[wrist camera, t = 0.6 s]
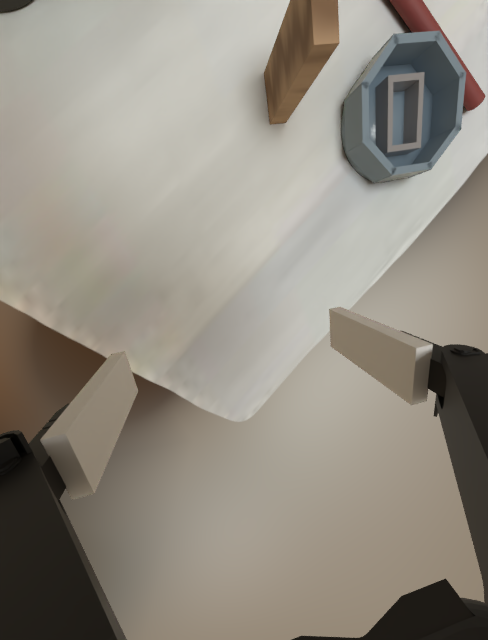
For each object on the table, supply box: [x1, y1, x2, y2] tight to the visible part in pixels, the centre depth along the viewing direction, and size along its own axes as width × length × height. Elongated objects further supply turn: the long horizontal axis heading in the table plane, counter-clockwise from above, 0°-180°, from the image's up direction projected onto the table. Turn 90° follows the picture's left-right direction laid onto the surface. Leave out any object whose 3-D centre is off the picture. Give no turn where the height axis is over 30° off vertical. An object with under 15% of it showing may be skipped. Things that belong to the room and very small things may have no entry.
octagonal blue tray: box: [341, 31, 466, 183], centre depth 35 cm, size 16×16×5 cm
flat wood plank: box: [264, 0, 339, 124], centre depth 27 cm, size 6×2×14 cm, turn 10°
